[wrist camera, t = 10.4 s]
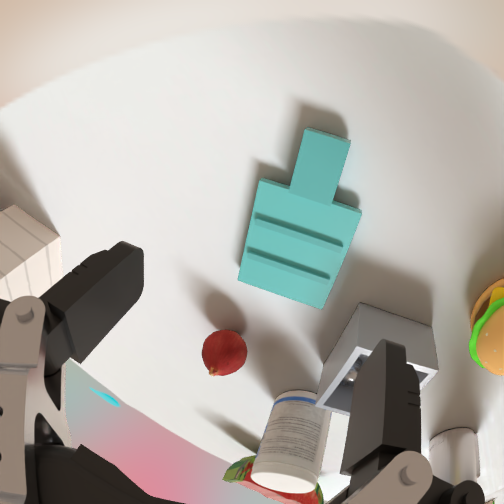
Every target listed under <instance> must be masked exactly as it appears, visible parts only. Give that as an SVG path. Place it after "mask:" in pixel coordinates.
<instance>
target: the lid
mask: <svg viewBox="0 0 504 504" xmlns="http://www.w3.org/2000/svg"><path fill="white" fill-rule="evenodd" d="M350 144H351V140H348V139H345V138H342V137H339V136H336V135H332V134H329V133H326V132H323V131H319V130H316V129H313V128H309V127H307V128H306V129H305V130H304V134H303V138H302V142H301V146H300V150H299V153H298V157H297V161H296V165H295V169H294V173H293V176H292V180H291V184H290V186H288V185H285V184H281V183H278V182H275V181H271V180H268V179H265V178H261V179H260V180H259V184H258V189H257V193H256V198H255V202H254V207H253V211H252V216H251V220H250V225H249V230H248V234H247V239H246V243H245V248H244V253H243V257H242V262H241V266H240V271H239V276H238V281H241V282H244V283H247V284H250V285H252V286H255V287H258V288H261V289H264V290H267V291H269V292H272V293H275V294H278V295H281V296H284V297H287V298H289V299H292V300H295V301H298V302H301V303H304V304H307V305H310V306H313V307H316V308H319V309H322V308H323V306H324V304H325V302H326V300H327V297H328V295H329V293H330V291H331V288H332V286H333V284H334V281H335V279H336V277H337V275H338V272H339V270H340V267H341V265H342V263H343V260H344V258H345V255H346V253H347V251H348V248H349V246H350V243H351V241H352V238H353V236H354V233H355V231H356V228H357V226H358V223H359V220H360V218H361V215H362V210H360V209H357V208H354V207H351V206H348V205H345V204H343V203H340V202H337V201H334V200H333V198H334V195H335V192H336V189H337V186H338V183H339V179H340V176H341V173H342V170H343V167H344V164H345V160H346V157H347V154H348V150H349V147H350Z"/></svg>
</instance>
